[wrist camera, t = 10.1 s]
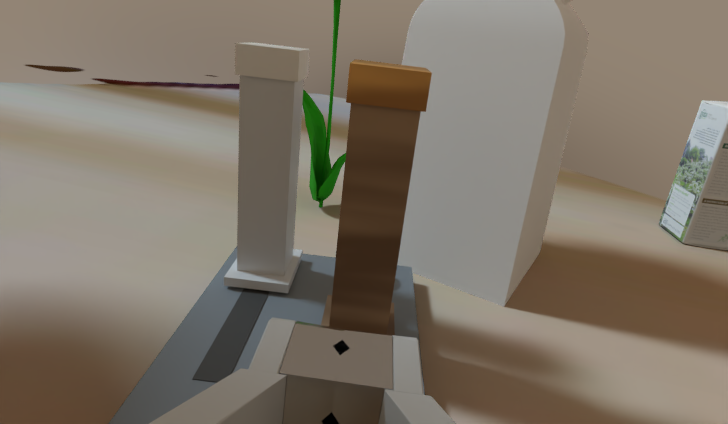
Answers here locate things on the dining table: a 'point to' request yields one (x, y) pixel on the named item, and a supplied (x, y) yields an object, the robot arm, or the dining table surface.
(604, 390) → the dining table surface
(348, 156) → the walnut lever
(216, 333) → the control board
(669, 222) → the syrup box
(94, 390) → the dining table surface
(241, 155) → the grey lever
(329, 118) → the flower
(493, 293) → the milk
